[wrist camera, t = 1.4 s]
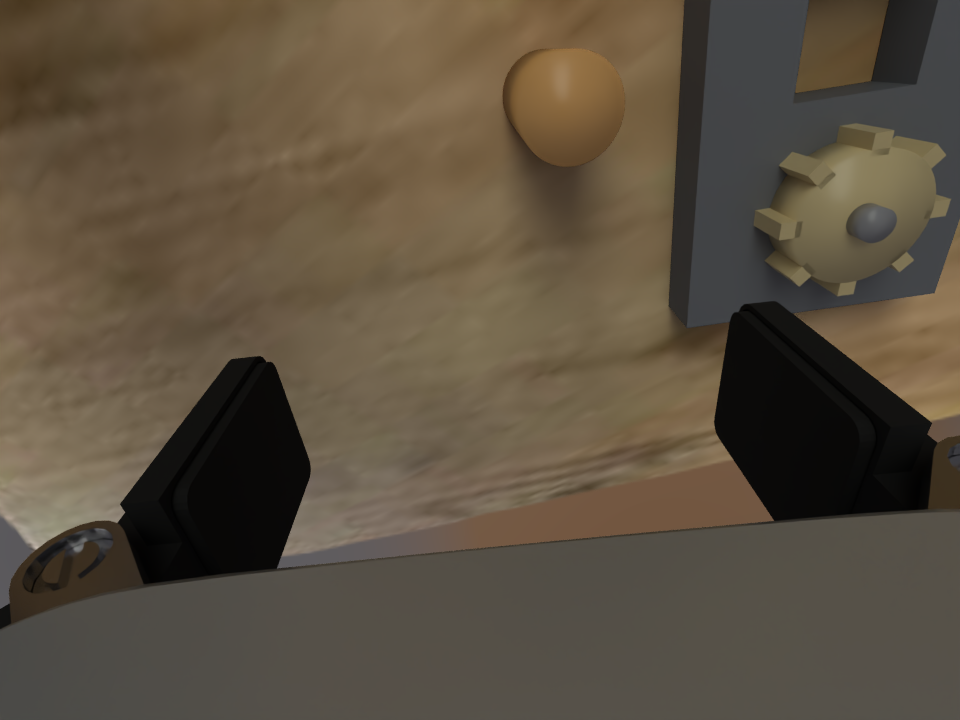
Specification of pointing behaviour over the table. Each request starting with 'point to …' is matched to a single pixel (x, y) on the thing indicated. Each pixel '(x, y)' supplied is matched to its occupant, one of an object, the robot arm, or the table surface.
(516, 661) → the robot arm
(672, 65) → the table surface
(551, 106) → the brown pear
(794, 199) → the housing
